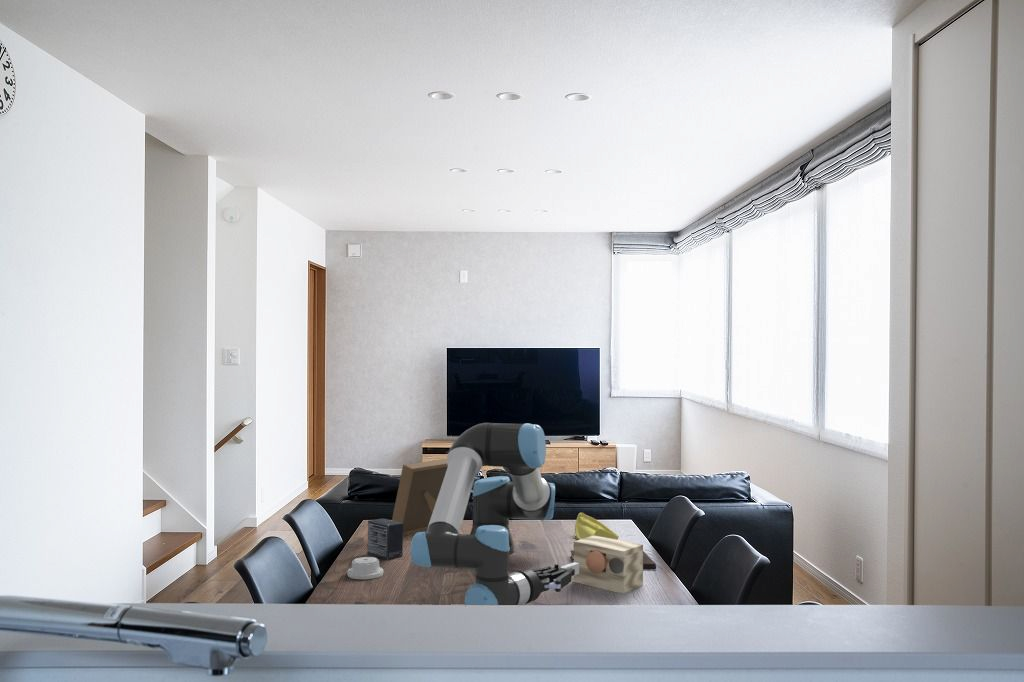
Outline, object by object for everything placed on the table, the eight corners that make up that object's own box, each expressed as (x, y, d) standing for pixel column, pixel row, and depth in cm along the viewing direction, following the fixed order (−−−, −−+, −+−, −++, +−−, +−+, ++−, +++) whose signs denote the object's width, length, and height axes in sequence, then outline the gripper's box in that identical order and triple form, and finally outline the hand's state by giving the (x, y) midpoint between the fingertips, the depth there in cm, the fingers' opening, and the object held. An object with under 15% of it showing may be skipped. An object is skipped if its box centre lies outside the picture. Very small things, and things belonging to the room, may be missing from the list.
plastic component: (621, 538, 245) (596, 526, 243) (611, 558, 245) (586, 546, 242) (600, 521, 264) (576, 510, 262) (591, 540, 264) (567, 529, 261)
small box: (404, 556, 227) (404, 522, 227) (387, 560, 222) (387, 525, 223) (383, 550, 234) (383, 517, 235) (366, 554, 229) (367, 520, 230)
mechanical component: (339, 576, 205) (365, 582, 200) (339, 560, 205) (366, 566, 200) (365, 568, 214) (390, 574, 208) (365, 553, 214) (390, 558, 208)
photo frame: (389, 535, 255) (391, 462, 255) (431, 524, 272) (433, 457, 273) (420, 542, 246) (423, 467, 247) (462, 531, 264) (464, 461, 264)
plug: (603, 575, 194) (603, 553, 194) (585, 571, 198) (585, 550, 198) (626, 566, 203) (626, 545, 203) (608, 562, 207) (608, 542, 207)
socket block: (621, 594, 191) (622, 551, 192) (571, 582, 202) (572, 541, 202) (642, 585, 200) (643, 544, 200) (593, 574, 210) (593, 535, 210)
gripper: (497, 598, 176) (556, 577, 194) (541, 610, 167) (597, 587, 185) (498, 566, 176) (556, 549, 194) (541, 577, 168) (598, 557, 186)
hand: (576, 568), depth 190 cm, fingers closed
